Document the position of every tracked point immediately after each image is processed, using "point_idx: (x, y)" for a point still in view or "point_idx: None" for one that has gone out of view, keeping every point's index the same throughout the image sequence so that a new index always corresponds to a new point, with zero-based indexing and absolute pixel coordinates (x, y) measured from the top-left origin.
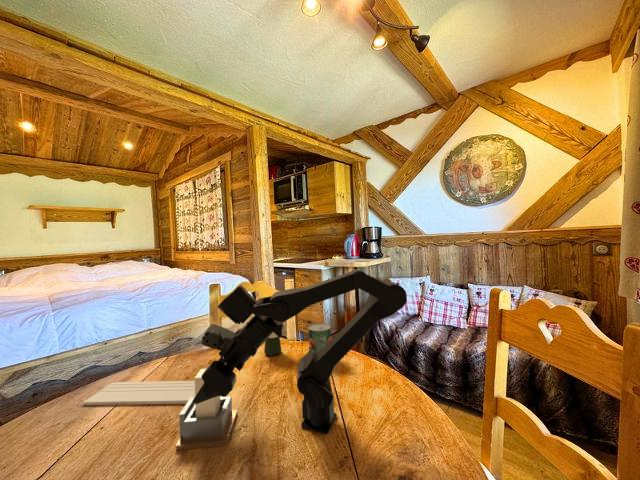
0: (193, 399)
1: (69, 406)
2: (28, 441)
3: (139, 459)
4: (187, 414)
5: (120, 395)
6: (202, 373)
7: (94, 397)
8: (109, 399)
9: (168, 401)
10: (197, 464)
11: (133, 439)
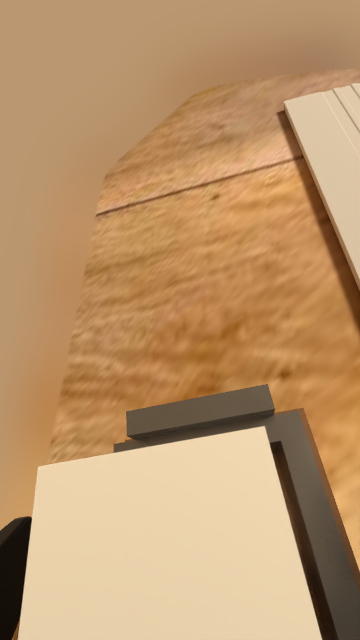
0: (3, 528)
1: (274, 96)
2: (173, 133)
3: (108, 355)
4: (166, 436)
5: (331, 133)
6: (137, 522)
7: (306, 101)
8: (307, 129)
9: (351, 262)
10: None
11: (178, 289)
